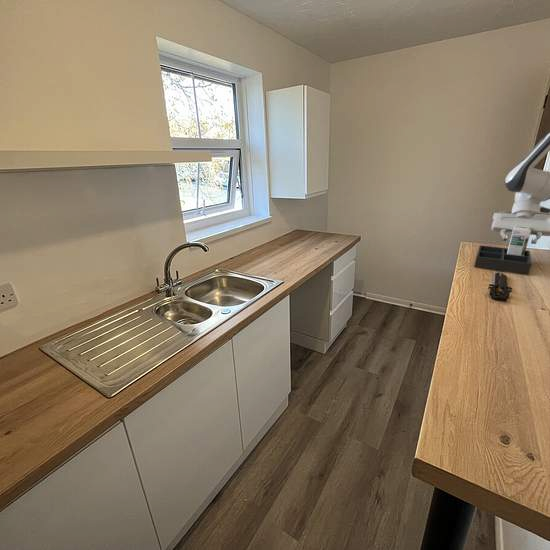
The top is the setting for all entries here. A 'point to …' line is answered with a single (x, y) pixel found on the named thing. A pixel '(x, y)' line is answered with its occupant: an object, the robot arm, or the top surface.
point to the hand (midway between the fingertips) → (518, 241)
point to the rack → (502, 260)
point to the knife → (496, 285)
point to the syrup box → (519, 240)
